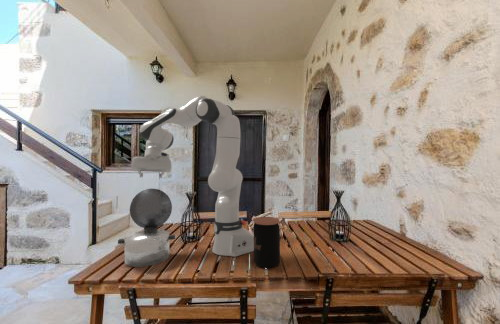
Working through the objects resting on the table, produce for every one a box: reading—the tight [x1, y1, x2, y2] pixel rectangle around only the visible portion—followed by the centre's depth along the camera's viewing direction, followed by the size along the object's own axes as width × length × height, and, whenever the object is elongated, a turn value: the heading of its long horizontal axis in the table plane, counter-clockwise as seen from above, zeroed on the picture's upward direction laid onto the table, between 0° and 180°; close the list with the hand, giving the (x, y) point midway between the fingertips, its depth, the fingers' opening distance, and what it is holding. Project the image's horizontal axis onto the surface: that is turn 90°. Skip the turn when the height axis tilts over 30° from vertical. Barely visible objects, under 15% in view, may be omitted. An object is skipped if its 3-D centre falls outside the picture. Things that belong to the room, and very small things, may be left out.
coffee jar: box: [253, 216, 281, 269], centre depth 101 cm, size 11×11×18 cm
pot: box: [117, 229, 176, 268], centre depth 108 cm, size 18×23×10 cm
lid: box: [129, 188, 173, 231], centre depth 120 cm, size 20×19×3 cm
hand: (150, 177), depth 129 cm, fingers open, 8 cm apart
